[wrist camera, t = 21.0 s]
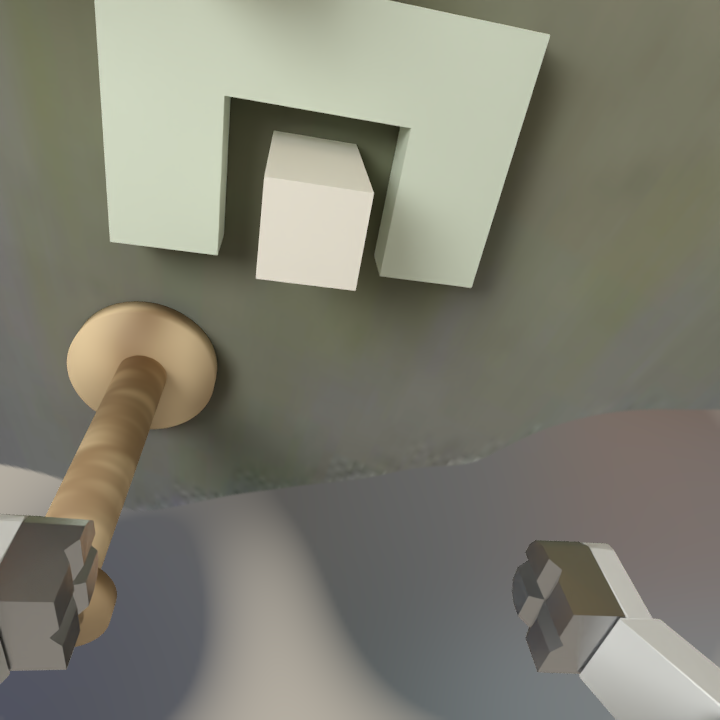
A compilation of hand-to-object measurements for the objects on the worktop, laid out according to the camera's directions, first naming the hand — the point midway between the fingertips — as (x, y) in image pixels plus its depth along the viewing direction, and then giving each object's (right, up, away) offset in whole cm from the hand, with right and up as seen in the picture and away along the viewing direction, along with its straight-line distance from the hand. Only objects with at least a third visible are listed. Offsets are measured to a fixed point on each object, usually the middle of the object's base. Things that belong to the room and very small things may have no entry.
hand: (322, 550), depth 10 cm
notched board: (-2, +16, +20) cm, 25 cm away
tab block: (-2, +14, +21) cm, 25 cm away
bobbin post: (-13, +3, +27) cm, 30 cm away
